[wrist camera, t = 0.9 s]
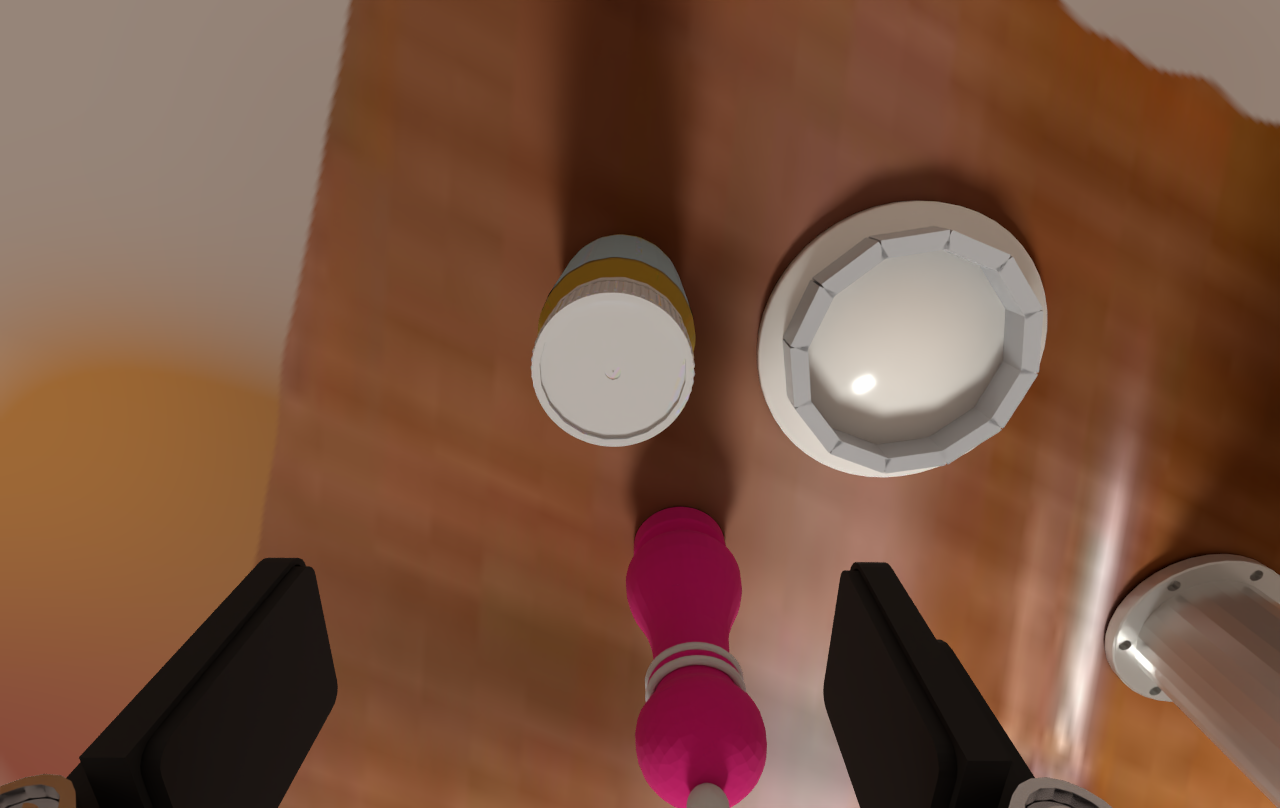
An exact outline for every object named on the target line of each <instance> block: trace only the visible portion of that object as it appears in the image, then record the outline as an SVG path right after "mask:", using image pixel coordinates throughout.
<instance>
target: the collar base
mask: <svg viewBox="0 0 1280 808" xmlns="http://www.w3.org/2000/svg"><path fill="white" fill-rule="evenodd" d="M1046 333H1047V306H1046V299H1045V292H1044V289H1043V285H1042V282H1041V279H1040V276H1039V273H1038V271H1037V269H1036V267H1035V265H1034V263H1033V261H1032V259H1031V258H1030V256H1029V255H1028V253H1027V252H1026V250H1025V249H1024V247H1023V246H1022V245H1021V244H1020V242H1019V241H1018V240H1017V239H1016V238H1015V237H1014V236H1013V235H1012V234H1011V233H1010V232H1009V231H1007V230H1006V229H1005V228H1004V227H1002V226H1001V225H1000V224H998V223H997V222H996V221H994V220H992V219H990V218H988V217H986V216H985V215H983V214H981V213H979V212H976V211H973V210H971V209H968V208H965V207H962V206H958V205H953V204H947V203H942V202H935V201H918V200H912V201H901V202H892V203H888V204H883V205H879V206H875V207H872V208H869V209H866V210H864V211H861V212H858V213H855V214H853V215H851V216H849V217H847V218H845V219H843V220H841V221H840V222H838V223H836V224H834V225H833V226H831V227H830V228H828V229H827V230H825V231H824V232H823V233H821V234H820V235H818V236H817V237H816V238H815V239H814V240H813V241H811V242H810V243H809V244H808V245H807V246H806V247H805V248H804V249H803V250H802V251H801V252H800V253H799V254H798V255H797V256H796V257H795V258H794V260H793V261H792V262H791V263H790V264H789V266H788V267H787V268H786V270H785V271H784V273H783V274H782V275H781V277H780V278H779V280H778V282H777V284H776V285H775V287H774V289H773V291H772V293H771V295H770V297H769V299H768V302H767V304H766V307H765V310H764V312H763V315H762V319H761V323H760V327H759V331H758V340H757V370H758V376H759V382H760V386H761V389H762V392H763V395H764V398H765V401H766V403H767V405H768V407H769V409H770V411H771V413H772V415H773V417H774V419H775V420H776V422H777V423H778V425H779V426H780V428H781V429H782V431H783V432H784V433H785V434H786V435H787V436H788V438H789V439H790V440H791V441H792V442H793V443H794V444H795V445H796V446H797V447H799V448H800V449H801V450H802V451H803V452H805V453H806V454H807V455H809V456H810V457H812V458H814V459H815V460H817V461H819V462H820V463H822V464H824V465H827V466H829V467H831V468H834V469H836V470H839V471H843V472H846V473H850V474H855V475H861V476H867V477H895V476H905V475H910V474H915V473H920V472H923V471H926V470H930V469H933V468H936V467H939V466H944V465H945V464H946V463H947V464H949V463H951V462H952V461H954V460H955V459H957V458H959V457H960V456H962V455H964V454H965V453H967V452H969V451H970V450H972V449H973V448H975V447H976V446H977V445H979V444H981V443H982V442H984V441H985V440H987V439H988V438H990V437H992V436H993V435H995V434H996V433H998V432H999V431H1001V428H1004V427H1005V425H1006V423H1007V422H1008V420H1009V419H1010V417H1011V416H1012V414H1013V413H1014V411H1015V409H1016V408H1017V406H1018V405H1019V403H1020V402H1021V400H1022V399H1023V397H1024V396H1025V394H1026V392H1027V391H1028V389H1029V388H1030V386H1031V385H1032V383H1033V382H1034V380H1035V378H1036V377H1037V375H1038V374H1036V372H1039V365H1040V361H1041V357H1042V354H1043V350H1044V346H1045V339H1046ZM1000 427H1001V428H1000Z"/></svg>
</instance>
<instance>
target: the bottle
mask: <svg viewBox="0 0 1280 808" xmlns="http://www.w3.org/2000/svg"><path fill="white" fill-rule="evenodd" d="M695 339H696V335H695V328H694V322H693V315H692V312H691V309H690V306H689V303H688V300H687V297H686V295H685V292H684V289H683V286H682V283H681V281H680V278H679V275H678V273H677V271H676V269H675V267H674V265H673V263H672V262H671V260H670V259H669V257H668V256H667V255H666V254H665V253H664V252H663V251H662V250H661V249H660V248H659V247H657V246H656V245H655V244H653V243H651V242H649V241H647V240H645V239H643V238H641V237H637V236H632V235H625V234H615V235H610V236H605V237H601V238H598V239H596V240H595V241H593V242H591V243H589V244H588V245H586V246H584V247H583V248H582V249H581V250H580V251H579V252H578V253H577V254H576V255H575V256H574V257H573V258H572V260H571V261H570V262H569V264H568V266H567V267H566V269H565V270H564V272H563V273H562V275H561V276H560V278H559V280H558V281H557V283H556V284H555V286H554V287H553V289H552V290H551V292H550V294H549V295H548V298H547V300H546V302H545V305H544V307H543V309H542V312H541V314H540V318H539V324H538V337H537V339H536V341H535V347H534V348H533V351H532V352H533V356H532V358H531V361H532V366H531V370H532V379H533V386H534V388H535V391H536V395H537V397H538V399H539V401H540V403H541V405H542V407H543V408H544V410H545V411H546V413H547V414H548V415H549V417H550V418H551V419H552V420H553V421H554V422H555V423H556V424H557V425H558V426H559V427H560V428H562V429H563V430H564V431H566V432H567V433H569V434H570V435H572V436H574V437H576V438H578V439H580V440H582V441H585V442H588V443H591V444H595V445H601V446H612V447H615V446H627V445H632V444H636V443H640V442H643V441H645V440H648V439H650V438H652V437H654V436H655V435H657V434H659V433H660V432H662V431H663V430H664V429H666V428H667V427H668V426H669V425H670V424H671V423H672V422H673V421H674V420H675V419H676V418H677V417H678V415H679V414H680V413H681V411H682V410H683V408H684V407H685V404H686V402H687V401H688V399H689V395H690V393H691V391H692V385H693V383H694V380H693V376H695V371H694V367H695V363H694V354H693V353H694V347H695Z"/></svg>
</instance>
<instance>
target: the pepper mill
mask: <svg viewBox="0 0 1280 808" xmlns="http://www.w3.org/2000/svg"><path fill="white" fill-rule="evenodd" d="M626 590H627V599H628V603H629V606H630V609H631V612H632V614H633V617H634V619H635V621H636V623H637V624H638V626H639V627H640V628H641V630H642V631H643V633H644V634H645V635H646V637H647V638H648V640H649V643H650V646H651V648H652V652H653V658H654V660H653V661H652V663H651V664H650V666H649V668H648V670H647V673H646V677H645V688H646V693H645V700H646V703H645V705H644V706H643V708H642V709H641V712H640V714H639V717H638V720H637V726H636V733H635V738H636V752H637V758H638V763H639V765H640V768H641V770H642V773H643V775H644V777H645V780H646V781H647V783H648V784H649V786H650V787H651V788H652V789H653V790H654V791H655V792H656V793H657V794H658V795H659V796H660V797H661V798H662V799H663V800H665V801H666V802H668V803H669V804H671V805H672V806H674V807H677V808H730V807H732V806H734V805H735V804H737V803H739V802H740V801H741V800H742V799H743V798H745V797H746V796H747V795H748V794H749V793H750V792H751V791H752V789H753V788H754V787H755V785H756V784H757V783H758V780H759V778H760V776H761V774H762V772H763V769H764V765H765V761H766V751H767V741H766V731H765V727H764V723H763V720H762V717H761V714H760V711H759V709H758V708H757V706H756V705H755V703H754V701H753V700H752V699H751V698H750V696H749V695H748V694H747V693H746V688H745V684H744V681H743V680H744V679H743V672H742V670H741V667H740V665H739V663H738V662H737V660H736V659H735V658H734V657H733V656H732V655H731V654H730V653H729V639H728V638H729V633H730V630H731V627H732V625H733V623H734V620H735V618H736V616H737V614H738V611H739V607H740V602H741V595H742V586H741V578H740V571H739V567H738V564H737V562H736V560H735V558H734V556H733V554H732V553H731V552H730V551H729V549H728V548H727V547H726V545H725V541H724V536H723V533H722V531H721V529H720V527H719V525H718V524H717V523H716V522H715V521H714V519H713V518H711V517H710V516H709V515H707V514H706V513H704V512H702V511H699V510H697V509H694V508H689V507H672V508H667V509H664V510H661V511H659V512H656V513H655V514H653V515H652V516H650V517H649V518H648V519H647V520H646V521H645V522H644V523H643V524H642V525H641V526H640V528H639V530H638V531H637V534H636V536H635V541H634V557H633V558H632V560H631V562H630V564H629V568H628V571H627V576H626Z"/></svg>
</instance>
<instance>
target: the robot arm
mask: <svg viewBox="0 0 1280 808" xmlns="http://www.w3.org/2000/svg"><path fill="white" fill-rule="evenodd" d="M1105 652H1106V657H1107V660H1108V662H1109V664H1110V666H1111V668H1112V670H1113V671H1114V672H1115V673H1116V675H1117V676H1118V677H1119V678H1120V679H1121V680H1122V682H1123V683H1125V684H1126V685H1127V686H1128V687H1129V688H1130V689H1132V690H1133V691H1135V692H1137V693H1139V694H1141V695H1143V696H1145V697H1148V698H1152V699H1155V700H1160V701H1170V702H1174V703H1175V704H1176V705H1177V706H1178V707H1179V708H1180V709H1181V710H1182V711H1183V712H1184V713H1185V714H1186V715H1187V716H1188V717H1189V718H1190V719H1191V720H1192V721H1193V722H1194V724H1195V725H1196V726H1197V727H1198V728H1199V729H1200V730H1201V731H1202V732H1203V733H1204V734H1205V735H1206V736H1207V737H1208V738H1209V739H1210V740H1211V741H1212V742H1213V743H1214V744H1215V745H1216V746H1217V747H1218V748H1219V749H1220V750H1221V751H1222V752H1223V753H1224V754H1225V755H1226V756H1227V757H1228V758H1229V759H1230V760H1231V761H1232V762H1233V763H1234V764H1235V765H1236V766H1237V767H1238V768H1239V769H1240V770H1241V771H1242V772H1243V773H1244V774H1245V775H1246V776H1247V777H1248V778H1249V779H1250V780H1251V781H1252V782H1253V783H1254V784H1255V785H1256V786H1257V787H1258V788H1259V789H1260V790H1261V791H1262V792H1263V793H1264V794H1265V795H1266V796H1267V798H1268V799H1269V800H1270V801H1271V802H1272V803H1273V804H1274V805H1275V806H1276V807H1277V808H1280V575H1278V574H1277V573H1276V572H1274V571H1273V570H1272V569H1270V568H1268V567H1267V566H1265V565H1263V564H1262V563H1260V562H1258V561H1257V560H1254V559H1251V558H1248V557H1244V556H1240V555H1232V554H1211V555H1204V556H1199V557H1194V558H1189V559H1186V560H1183V561H1181V562H1178V563H1175V564H1172V565H1170V566H1168V567H1166V568H1164V569H1162V570H1160V571H1158V572H1156V573H1154V574H1153V575H1151V576H1150V577H1149V578H1147V579H1146V580H1144V581H1143V582H1141V583H1140V584H1139V585H1138V586H1137V587H1136V588H1134V589H1133V590H1132V591H1131V592H1130V593H1129V594H1128V595H1127V596H1126V597H1125V599H1124V600H1123V601H1122V602H1121V604H1120V605H1119V606H1118V607H1117V609H1116V611H1115V613H1114V615H1113V616H1112V618H1111V620H1110V622H1109V626H1108V629H1107V632H1106V636H1105ZM337 688H338V686H337V679H336V674H335V669H334V664H333V659H332V654H331V649H330V644H329V640H328V635H327V630H326V625H325V620H324V615H323V610H322V605H321V600H320V595H319V590H318V585H317V580H316V575H315V572H314V570H313V568H312V567H309V566H306V565H305V563H304V561H303V560H302V559H300V558H265V559H263V560H262V561H260V562H259V563H258V564H257V566H256V567H255V568H254V569H253V570H252V571H251V572H250V573H249V574H248V575H247V576H246V577H245V578H244V580H243V581H242V582H241V583H240V584H239V585H238V586H237V587H236V588H235V589H234V590H233V591H232V593H231V594H230V595H229V596H228V597H227V598H226V599H225V600H224V601H223V602H222V603H221V604H220V606H219V607H218V608H217V609H216V610H215V611H214V612H213V613H212V614H211V615H210V616H209V617H208V619H207V620H206V621H205V622H204V623H203V624H202V625H201V626H200V627H199V628H198V629H197V630H196V632H195V633H194V634H193V635H192V636H191V637H190V638H189V639H188V640H187V641H186V642H185V644H183V646H182V647H181V648H180V649H179V650H178V651H177V652H176V653H175V654H174V655H173V656H172V658H171V659H170V660H169V661H168V662H167V663H166V664H165V665H164V666H163V667H162V668H161V669H160V670H159V672H158V673H157V674H156V675H155V676H154V677H153V678H152V679H151V680H150V681H149V682H148V684H147V685H146V686H145V687H144V688H143V689H142V690H141V691H140V692H139V693H138V694H137V695H136V696H135V697H134V699H133V700H132V701H131V702H130V703H129V704H128V705H127V706H126V707H125V708H124V709H123V711H122V712H121V713H120V714H119V715H118V716H117V717H116V718H115V719H114V720H113V721H112V722H111V724H110V725H109V726H108V727H107V728H106V729H105V730H104V731H103V732H102V733H101V734H100V736H98V738H97V739H96V740H95V741H94V742H93V743H92V744H91V745H90V746H89V747H88V748H87V749H86V751H85V752H84V753H83V754H82V755H81V756H80V757H79V759H80V761H81V762H80V763H79V765H78V766H77V767H76V768H75V769H74V770H73V771H72V772H71V774H69V776H68V777H67V778H65V777H63V776H61V775H51V774H43V775H37V776H31V777H25V778H22V779H19V780H16V781H14V782H11V783H8V784H5V785H2V786H0V808H278V806H279V805H280V803H281V801H282V799H283V797H284V796H285V794H286V792H287V790H288V788H289V786H290V785H291V783H292V781H293V779H294V777H295V775H296V774H297V772H298V770H299V768H300V766H301V764H302V763H303V761H304V759H305V757H306V755H307V754H308V752H309V750H310V748H311V746H312V744H313V743H314V741H315V739H316V737H317V735H318V733H319V732H320V730H321V728H322V726H323V724H324V722H325V721H326V719H327V717H328V715H329V713H330V712H331V710H332V708H333V706H334V703H335V700H336V696H337ZM823 692H824V702H825V707H826V710H827V713H828V716H829V719H830V722H831V725H832V728H833V731H834V733H835V736H836V739H837V742H838V745H839V748H840V751H841V754H842V756H843V759H844V762H845V765H846V768H847V771H848V774H849V777H850V780H851V782H852V785H853V788H854V791H855V794H856V797H857V800H858V803H859V806H860V808H1112V807H1111V806H1110V805H1108V804H1107V803H1106V802H1105V801H1104V800H1102V799H1100V798H1099V797H1097V796H1095V795H1094V794H1092V793H1090V792H1089V791H1087V790H1086V789H1084V788H1081V787H1079V786H1076V785H1074V784H1071V783H1069V782H1066V781H1063V780H1058V779H1053V778H1047V777H1044V778H1035V777H1034V776H1033V774H1032V773H1031V771H1030V770H1029V768H1028V766H1027V765H1026V763H1025V762H1024V760H1023V759H1022V757H1021V756H1020V754H1019V752H1018V751H1017V749H1016V748H1015V746H1014V745H1013V743H1012V742H1011V740H1010V739H1009V737H1008V735H1007V734H1006V732H1005V731H1004V729H1003V728H1002V726H1001V725H1000V723H999V721H998V720H997V718H996V717H995V715H994V714H993V712H992V711H991V709H990V707H989V706H988V704H987V703H986V701H985V700H984V698H983V697H982V695H981V694H980V692H979V690H978V689H977V687H976V686H975V684H974V683H973V681H972V680H971V678H970V676H969V675H968V673H967V672H966V670H965V669H964V667H963V666H962V664H961V663H960V661H959V659H958V658H957V656H956V655H955V653H954V652H953V650H952V649H951V648H950V646H949V645H948V644H947V643H946V642H944V641H942V640H936V638H935V637H934V635H933V633H932V632H931V630H930V629H929V627H928V625H927V624H926V622H925V621H924V619H923V617H922V616H921V614H920V613H919V611H918V609H917V608H916V606H915V605H914V603H913V601H912V600H911V598H910V597H909V595H908V593H907V592H906V590H905V589H904V587H903V585H902V584H901V582H900V581H899V579H898V577H897V576H896V574H895V573H894V571H893V569H892V568H891V566H890V565H889V564H888V563H880V562H855V563H853V565H852V566H851V570H850V571H843V572H842V573H841V577H840V583H839V589H838V596H837V602H836V609H835V615H834V622H833V628H832V635H831V641H830V648H829V654H828V661H827V667H826V674H825V680H824V689H823Z"/></svg>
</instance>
